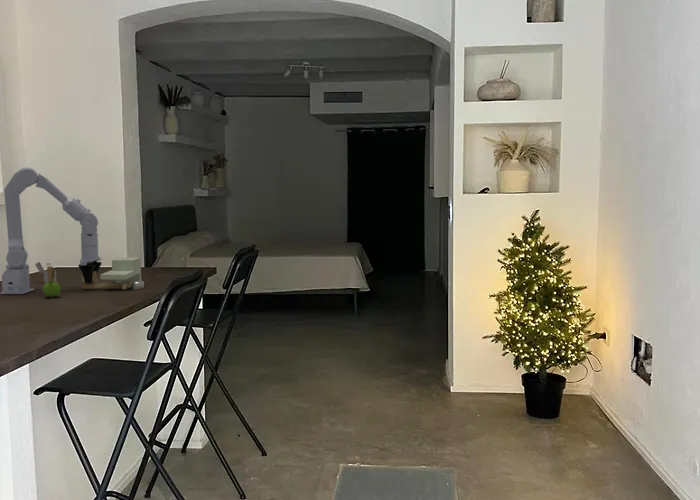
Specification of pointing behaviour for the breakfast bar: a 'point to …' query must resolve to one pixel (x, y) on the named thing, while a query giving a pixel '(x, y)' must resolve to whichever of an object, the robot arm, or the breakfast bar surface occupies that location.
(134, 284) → the token
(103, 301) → the breakfast bar surface
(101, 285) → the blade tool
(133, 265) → the pale chair
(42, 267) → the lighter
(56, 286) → the green gourd
